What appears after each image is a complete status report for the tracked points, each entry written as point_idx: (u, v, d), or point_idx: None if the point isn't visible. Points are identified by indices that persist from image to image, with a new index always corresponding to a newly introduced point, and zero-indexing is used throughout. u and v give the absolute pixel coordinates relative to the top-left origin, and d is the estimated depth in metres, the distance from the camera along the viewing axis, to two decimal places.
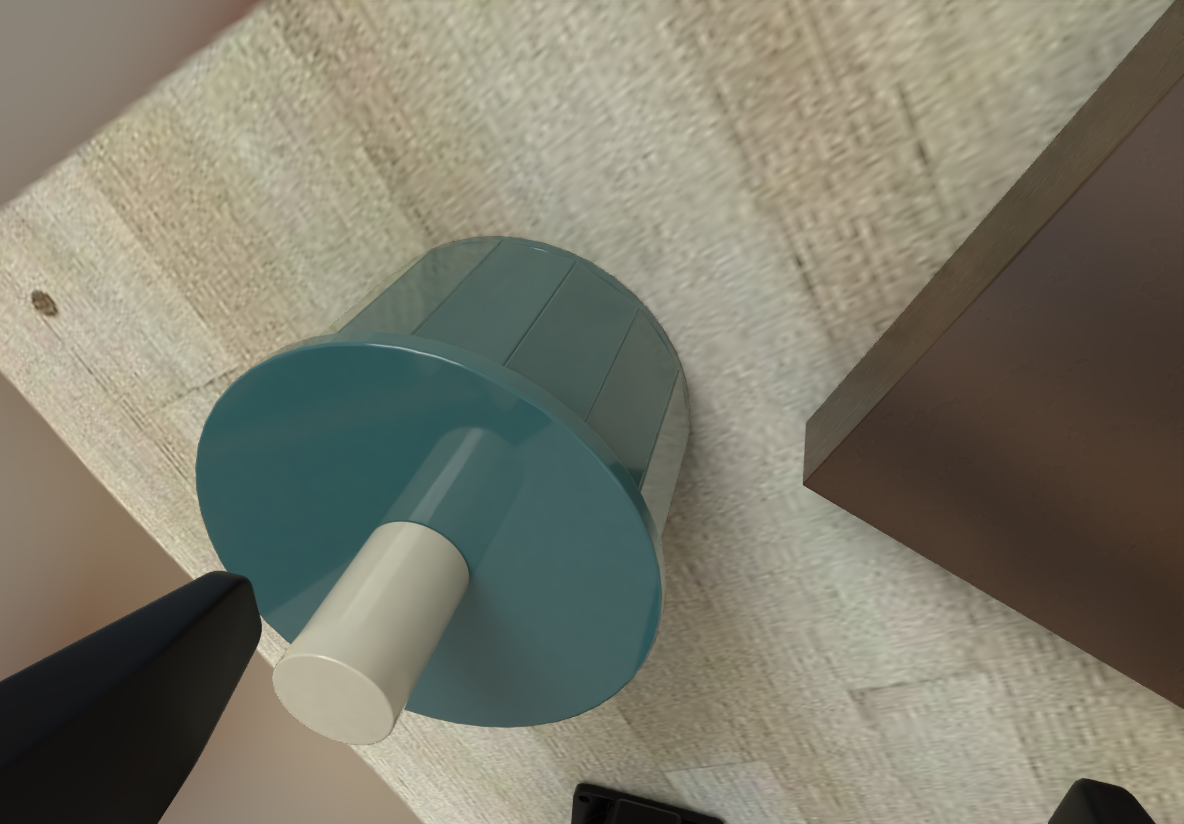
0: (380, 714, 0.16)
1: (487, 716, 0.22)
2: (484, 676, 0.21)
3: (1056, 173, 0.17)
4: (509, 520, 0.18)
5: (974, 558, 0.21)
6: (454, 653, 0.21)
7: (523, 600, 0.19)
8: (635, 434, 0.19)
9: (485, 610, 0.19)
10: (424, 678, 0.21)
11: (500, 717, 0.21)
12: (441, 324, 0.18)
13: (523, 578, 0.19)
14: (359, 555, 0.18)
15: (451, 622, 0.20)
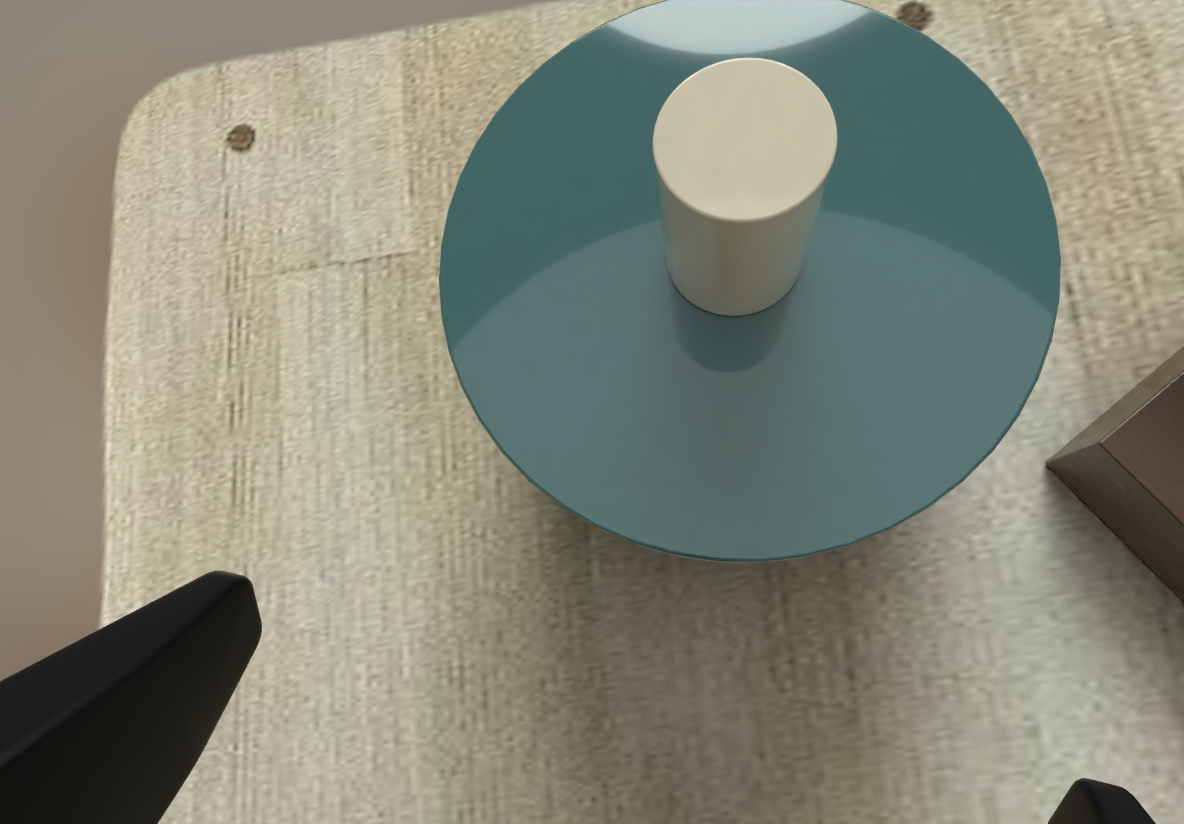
0: (813, 160, 0.11)
1: (696, 530, 0.14)
2: (731, 449, 0.15)
3: None
4: (889, 208, 0.15)
5: None
6: (707, 401, 0.15)
7: (855, 324, 0.15)
8: None
9: (792, 334, 0.15)
10: (631, 442, 0.15)
11: (717, 535, 0.14)
12: None
13: (869, 292, 0.15)
14: None
15: (731, 346, 0.15)
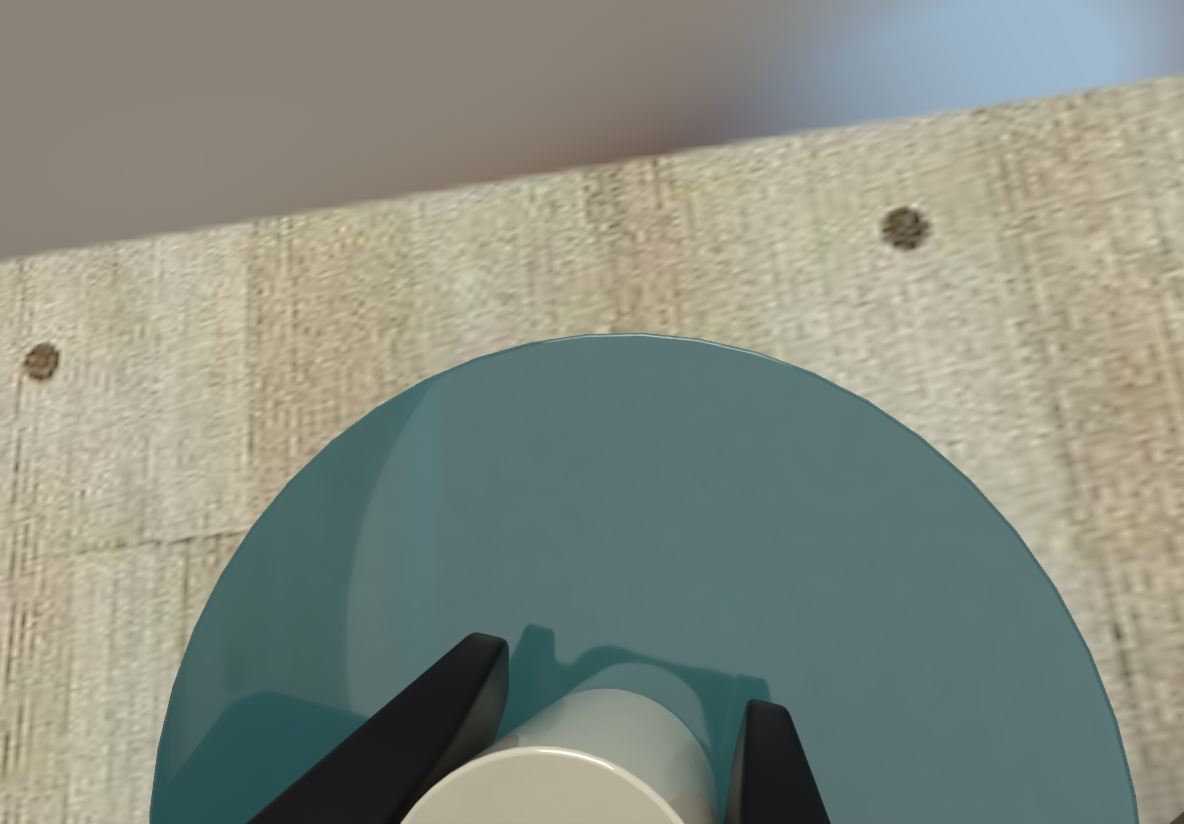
0: None
1: None
2: None
3: None
4: (857, 746, 0.09)
5: None
6: None
7: None
8: None
9: None
10: None
11: None
12: None
13: None
14: (567, 701, 0.09)
15: None
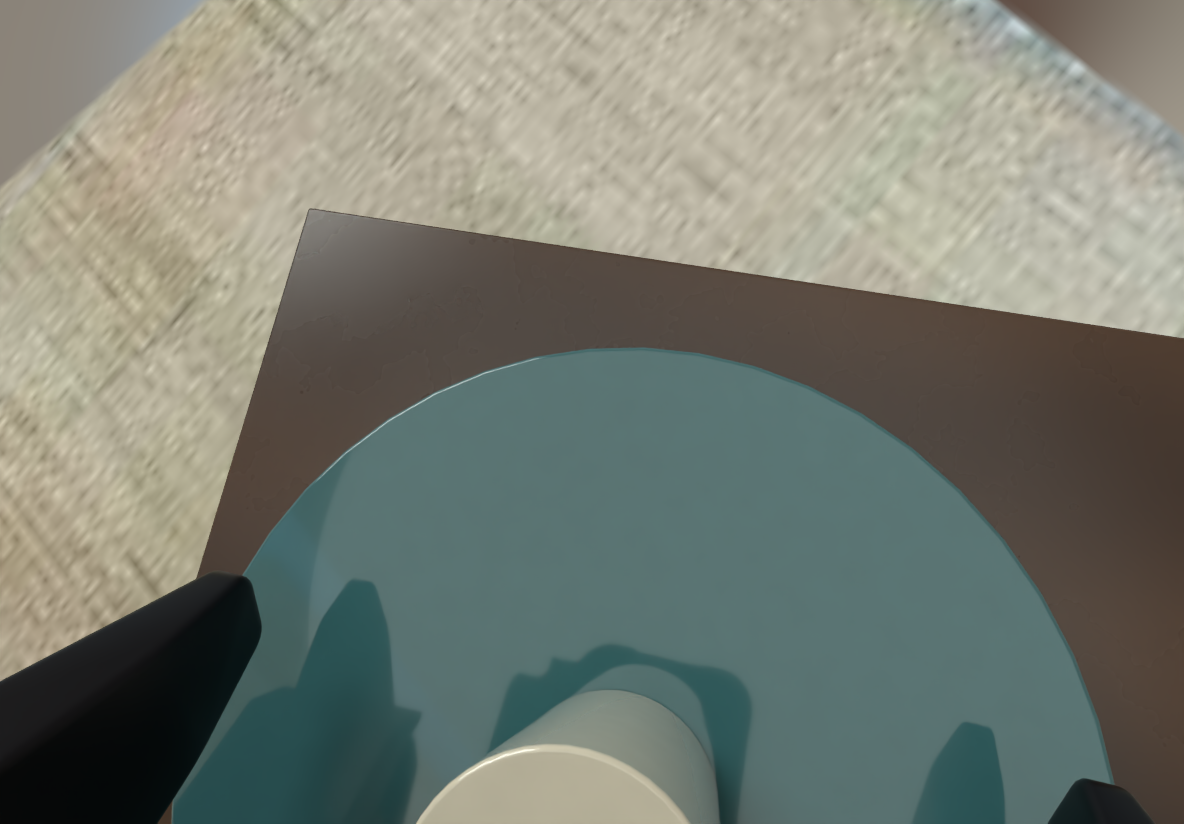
0: None
1: None
2: None
3: None
4: (851, 745, 0.10)
5: None
6: None
7: None
8: None
9: None
10: None
11: None
12: None
13: None
14: (573, 702, 0.09)
15: None
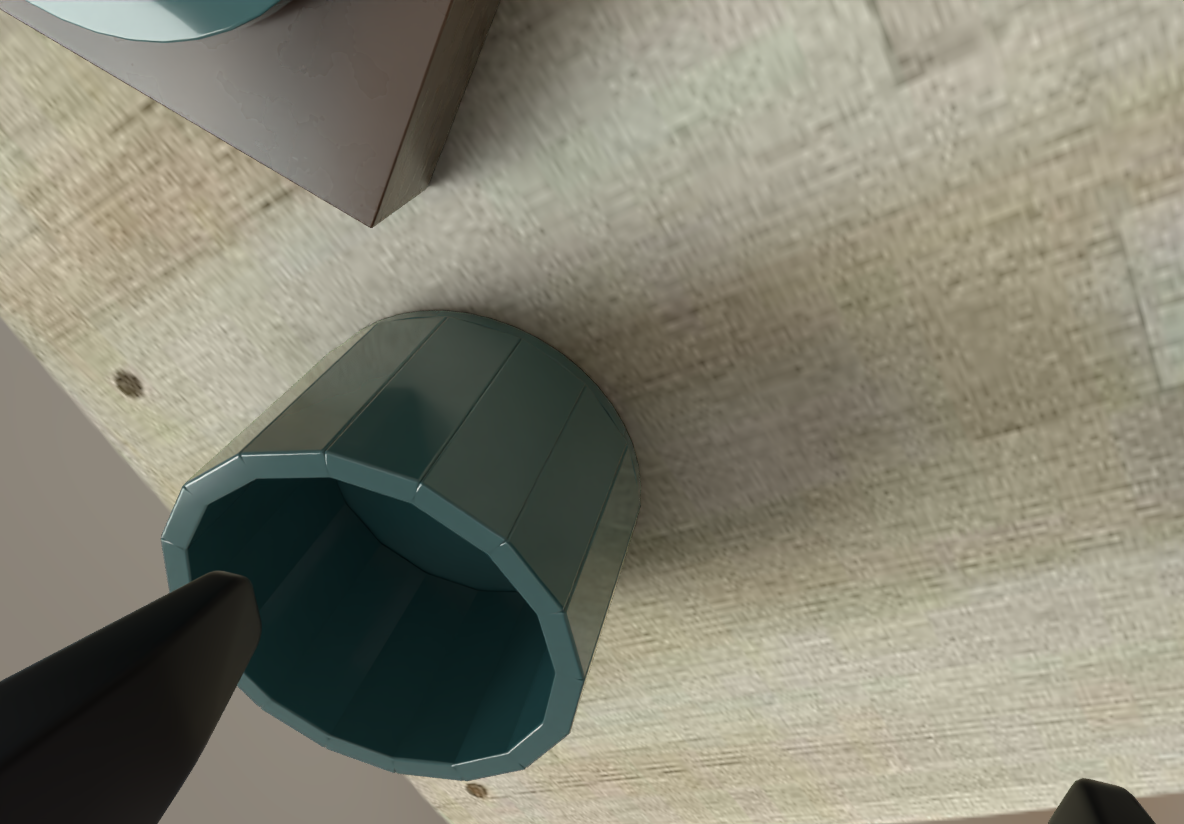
0: None
1: None
2: None
3: None
4: None
5: (409, 6, 0.15)
6: None
7: None
8: (273, 414, 0.19)
9: None
10: None
11: None
12: None
13: None
14: None
15: None
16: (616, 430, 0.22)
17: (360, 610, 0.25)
